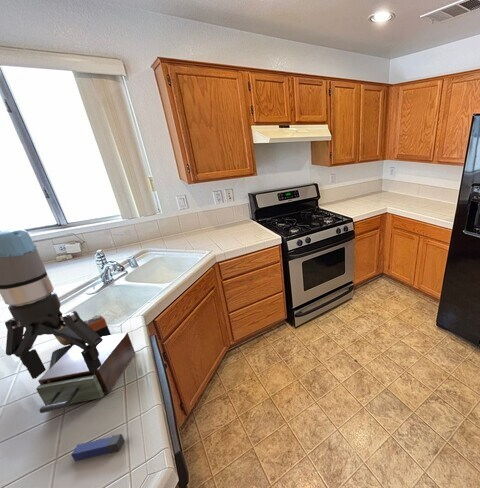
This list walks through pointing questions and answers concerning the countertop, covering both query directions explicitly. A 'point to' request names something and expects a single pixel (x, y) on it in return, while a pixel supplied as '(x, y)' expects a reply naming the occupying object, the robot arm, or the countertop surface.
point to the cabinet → (110, 355)
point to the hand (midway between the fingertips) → (68, 371)
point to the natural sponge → (62, 340)
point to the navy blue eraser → (98, 447)
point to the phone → (59, 354)
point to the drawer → (69, 391)
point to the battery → (98, 325)
